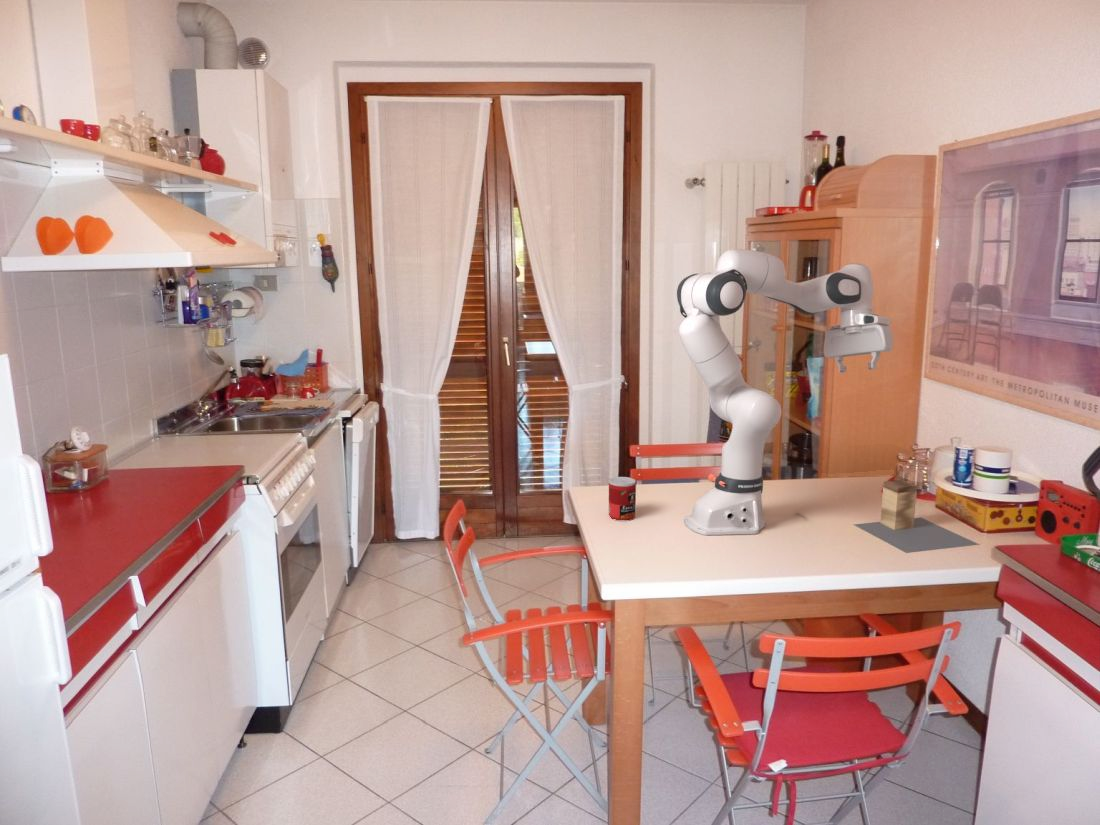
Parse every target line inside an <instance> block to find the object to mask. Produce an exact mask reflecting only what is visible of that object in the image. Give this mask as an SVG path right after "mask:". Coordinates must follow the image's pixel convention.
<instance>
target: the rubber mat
mask: <svg viewBox="0 0 1100 825" xmlns="http://www.w3.org/2000/svg"><path fill="white" fill-rule="evenodd" d="M880 522H881V521H874V522H865V523H856V524H852V525H853V526H855V527H857V528H859V529H861V530H862V531H865V532H867V533H868V534H870V535H872V536H873V537H875V538H878V539H879V540H881V541H883V542H885V543H887V544H889V545H890V546H892V547H894V548H896V549H898V550H900V551H902V552H904V553H906V554H909V553H910V554H911V553H918V552H926V551H935V550H944V549H945V550H946V549H952V548H954V549H955V548H963V547H969V546H977V545H979V546H980V543H977V542H975V541H973V540H971V539H968V538H967V537H964V536H962V535H960V534H958V533H955V532H953V531H952V530H949V529H947V528H945V527H942V526H940V525H938V524H936V523H934V522H931V521H929V520H927V519H925V518H922V517H914V528H910V529H901V530H893V529H891V528H889V527H887V526H885V525H883V524H881V523H880Z"/></svg>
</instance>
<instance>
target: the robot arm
mask: <svg viewBox="0 0 1100 825" xmlns="http://www.w3.org/2000/svg"><path fill="white" fill-rule="evenodd" d="M786 276H787V271H786V267H785V265H784V263H783V261H782V259H780V258H778V257H777V256H775V255H772V254H769V253H767V252H761V251H758V250H752V249H746V248H745V249H744V248H730V249H727V250H725V251H724V252H723V253H722V254H721V255H720V256H719V258H718V260H717V263H716V266H715V270H714V271H713V272H703V273H702V272H701V273H693V274H690V275H688V276H686V277H685V278H683V279H682V280H681V281H680V282H679V284H678V286H677V289H676V300H677V303H678V305H679V313H680V314H681V316H682V317H684V319H683V320H682V321H681V323H680V325H679V327H678V335H679V337H680V341H681V343H682V346H683V347H684V349H685V352H686V353H687V356H688V357H689V359H690V361H691V363H692V364H693V365H694V367H695V369H696V370H697V372H698V374H699V375H700V377H701V378H702V380H703V382H704V383H705V386H706V388H707V391H708V395H709V406H710V408H711V410H712V412H713V413H714V414H715V415H716V416H717V417H719V418H720V419H721V420H723V421H725V422H728V423H730V424H731V425H732V428H731V432H730V435H729V438H728V440H727V441H726V442H724V444H722V448H721V463H720V464H721V467H720V473H719V474H718V476H717V475H715V474H714V473H710V474H709V475H708V477H707V479H708V480H709V481H710V482H711V483H714V486H713V487H712V488H711V489H710V490H708V491H707V492H705V493H704V494H702V496H700V497H699V498H697V500H695V502H694V504H693V508H692V513H691V515H686V516H684V519H683V523H684V525H685V526H686V527H687V528H688V529H690V530H691V531H693V532H695V533H698V534H701V535H703V536H716V535H717V536H718V535H719V536H722V535H726V536H727V535H728V536H729V535H749V534H750V535H756V534H758V533H759V532H760V530H761V529H763V528H764V527H766V521H765V517H764V513H763V512H764V511H763V503H762V502H763V501H762V495H763V494H762V493H763V490H764V476H763V474H762V473H763V460H764V458H763V456H764V449H765V445H766V442H767V438H768V437H769V434H770V432H771V430H773V429H774V428H776V426H778V424H779V422H780V420H781V418H782V407H781V404H780V403H779V401H778V399H776V398H775V397H773V396H772V395H771V394H769V393H768V392H766V391H764V390H760V389H756V388H753V387H751V386H750V385H748V383H747V382H746V381H745V378H744V377H743V373H742V370H743V362H742V361H741V359H740V357H739V356H738V354H737V352H736V350H735V349H734V347H733V345H732V344H731V342H730V340H729V339H728V337H727V336H726V334H725V332H723V330H722V325H721V323H720V322H721V321H720V316H721V317H725V316H729V315H732V314H735V313H736V312H738V311H739V310H740V309H741V308H742V307H743V304H744V303H745V299H746V296H747V293H750V294H753V295H758V296H762V297H764V298H768V299H771V300H774V301H778V302H780V303H783V304H786V305H788V306H791V307H793V308H794V309H795V310H797V311H798V312H799V313H801V314H802V315H805V316H813V315H816V314H818V313H821V312H825V311H829V310H832V309H835V308H839V309H840V310H839V314H840V316H839V317H840V318H839V320H840V321H839V322H840V323H839V324H838V325H830V326H829V327H828V328H827V329H826V330H825V332H824V343H823V355H824V357H825V358H828V359H834V361H835V363H836V365H837V366H838V372H839V373H840V374H842V373H847V368H848V366H847V365H846V366H845V365H844V363H843V361H844V358H845V357H855V356H862V355H871V357H872V359H871V361H870V362H868V363H867V367H868V368H867V369H868V370H871V371H873V370H876V369H877V367H878V366H877V364H878V361H879V360H880V358H881V353H886V352H888V353H889V352H891V351H892V349H893V348H894V337H893V336H894V335H893V330H892V328H891V327H890V326H891V321H892V320H891V318H889V317H886V316H882V315H881V316H880V315H878V314H876V313H875V314H874V307H873V303H872V302H873V298H874V282H873V281H874V280H873V277H872V276H873V275H872V272H871V269H870V267H868V266H866V265H865V264H861V263H848V264H846V265H844V266H843V267H842V268H840V269H839V270H837V271H835V272H831V273H826V274H824V275H821V276H818V277H815V278H812V279H807V280H802V281H798V282H794V281H791V280H789V279H786Z"/></svg>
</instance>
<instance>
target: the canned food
mask: <svg viewBox="0 0 1100 825" xmlns="http://www.w3.org/2000/svg"><path fill="white" fill-rule="evenodd" d="M636 482H637V481H636V479H634V478H631V477H629V476H628V477H627V476H615V477H614V476H613V477H611V478H610V479H609V480H608V516H610V517H611V518H612V520H613V519H616V520H615V521H617V520H629V521H631V520H630V519H632V520H634V519H635V516H636V506H637V505H636V499H637V498H636V496H637V494H636V493H637V483H636ZM610 517H609V518H610ZM611 518H610V519H611ZM633 518H634V519H633Z"/></svg>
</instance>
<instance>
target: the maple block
mask: <svg viewBox="0 0 1100 825" xmlns="http://www.w3.org/2000/svg"><path fill="white" fill-rule="evenodd" d="M882 485H883V486H882V497H881V510H880V512H881V513H880V521H879V522H880V523H881V524H883V525H885V526H887V527H889V528H891V529H893V530H901V529H910V528H914V518H915V516H916V515H915V514H916V503H917V492H918V485H915V484H913V483H911V482H908V481H906V480H903V479H899V480H889V481H883V484H882Z"/></svg>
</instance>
